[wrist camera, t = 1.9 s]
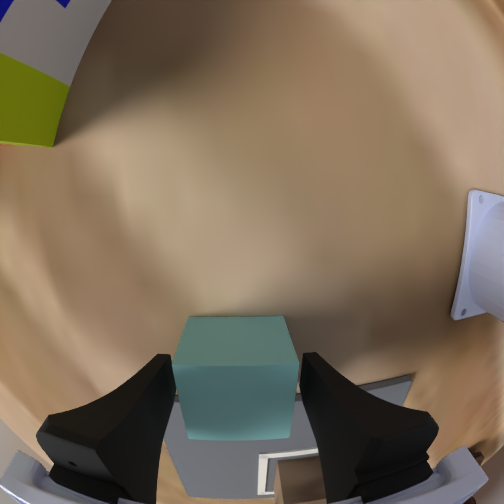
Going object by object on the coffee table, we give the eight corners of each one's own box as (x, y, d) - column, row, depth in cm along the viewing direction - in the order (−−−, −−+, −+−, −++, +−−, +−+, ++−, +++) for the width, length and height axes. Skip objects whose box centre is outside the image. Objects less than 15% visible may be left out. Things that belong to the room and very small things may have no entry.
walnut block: (344, 450, 15) (359, 490, 11) (331, 479, 16) (341, 513, 12) (277, 460, 15) (283, 504, 11) (273, 487, 16) (278, 524, 12)
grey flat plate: (408, 374, 14) (413, 381, 14) (358, 477, 18) (360, 483, 17) (153, 393, 14) (149, 401, 13) (188, 491, 17) (188, 497, 16)
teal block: (282, 314, 13) (299, 363, 9) (278, 384, 14) (289, 437, 10) (188, 315, 13) (171, 364, 9) (197, 385, 14) (188, 438, 10)
